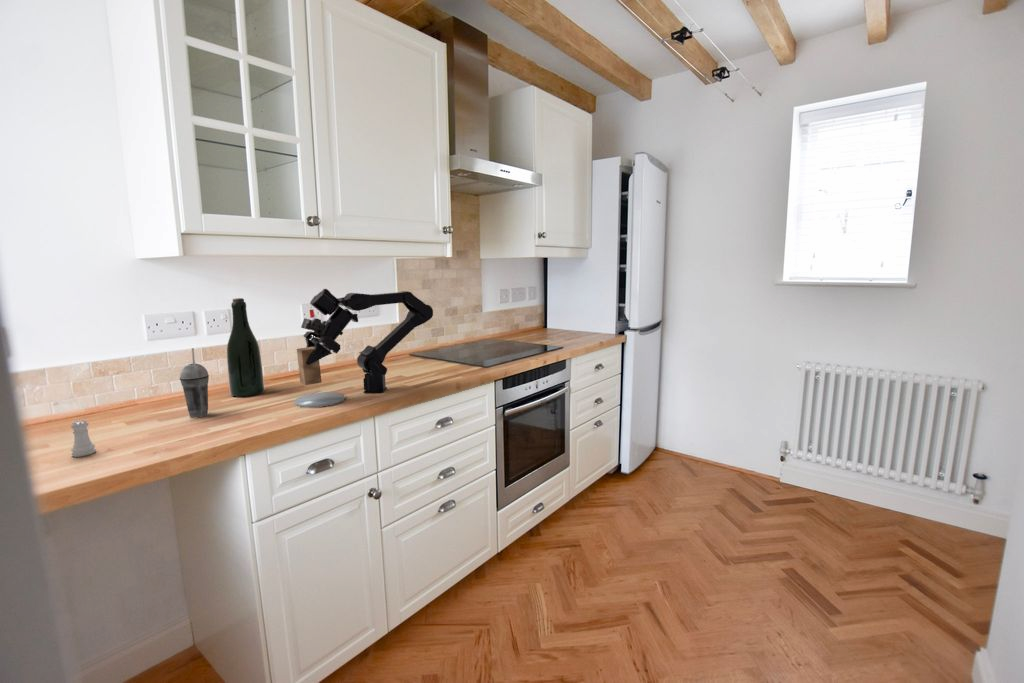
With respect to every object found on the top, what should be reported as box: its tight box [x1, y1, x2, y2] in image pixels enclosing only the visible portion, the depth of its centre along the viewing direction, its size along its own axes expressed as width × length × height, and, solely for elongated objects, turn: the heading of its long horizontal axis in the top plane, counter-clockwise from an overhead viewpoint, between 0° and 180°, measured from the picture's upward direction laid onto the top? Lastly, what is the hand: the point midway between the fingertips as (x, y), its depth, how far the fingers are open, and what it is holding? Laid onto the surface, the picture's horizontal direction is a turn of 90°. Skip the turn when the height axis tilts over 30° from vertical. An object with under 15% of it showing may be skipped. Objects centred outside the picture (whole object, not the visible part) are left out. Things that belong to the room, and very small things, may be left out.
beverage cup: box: [179, 348, 210, 418], centre depth 143 cm, size 7×7×20 cm
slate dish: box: [294, 391, 346, 408], centre depth 158 cm, size 15×15×1 cm
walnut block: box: [296, 347, 322, 386], centre depth 155 cm, size 5×5×11 cm
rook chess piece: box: [70, 419, 97, 458], centre depth 115 cm, size 4×4×8 cm
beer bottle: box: [226, 297, 265, 398], centre depth 167 cm, size 10×10×33 cm
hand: (304, 363), depth 154 cm, fingers closed on walnut block, 5 cm apart
